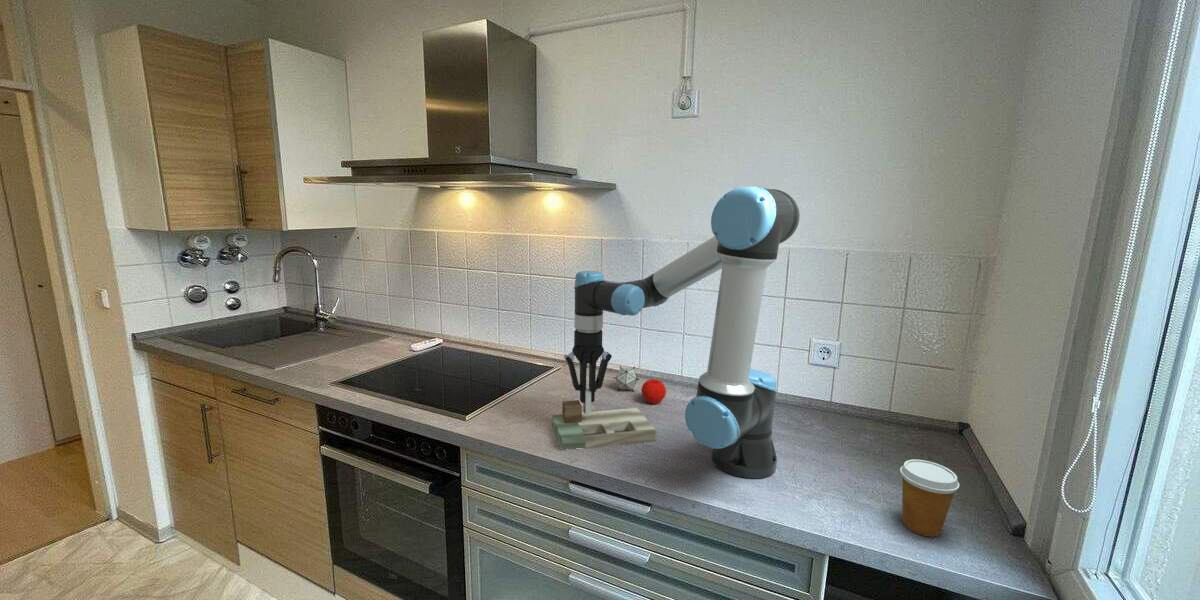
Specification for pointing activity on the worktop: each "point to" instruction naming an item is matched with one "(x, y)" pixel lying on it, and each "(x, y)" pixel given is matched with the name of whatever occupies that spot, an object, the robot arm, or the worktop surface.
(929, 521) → the disposable coffee cup
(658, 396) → the apple
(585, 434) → the shape sorter board
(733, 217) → the robot arm
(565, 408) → the block
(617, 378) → the game die
